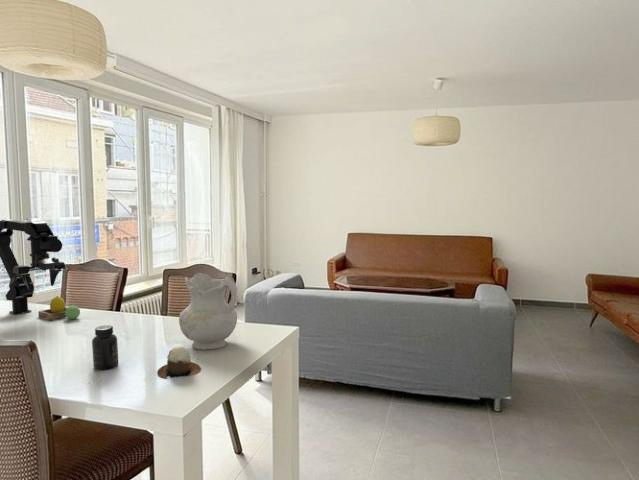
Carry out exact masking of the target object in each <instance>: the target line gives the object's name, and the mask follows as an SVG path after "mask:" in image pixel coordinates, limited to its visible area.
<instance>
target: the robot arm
mask: <svg viewBox="0 0 639 480" xmlns="http://www.w3.org/2000/svg"><path fill="white" fill-rule="evenodd" d="M14 231H19V232H24V233H25V234H26V235H28V236H29V237H27V239H26V241H29V242H30V253H29V256H30V257H31V262H30V266H29V265H24V264H23V265H20V264H19V263H18V261H17V258H16V257H15V254H14V253H13V250H12V247H11V242H12V236H13V234H14ZM58 238H59V237H58V235H54V233H53V231H52V230H51V228H50V226H49V225H48V223H47V222H46V221H29V222H28V221H21V220H16V219H15V220H14V219H11V218H10V219H1V220H0V260H1V263H2V265H3V267H4V268H5V271H6V273H7V275H8V278H9V279H10V280H9V284H8V288H9V290H8V291H7V292H6V293H5V298H6V299H5V300H6V301H11V306H12V307H11V308H12V310H11V311H8V313H10V314H12V315H21V314H26V313H32V310H30V309H29V302H28V301H29V300H28V298H33V296H34V295H33V294H34V291H35V286H34V285H35V284H34V282H33V281H32V278H31V273H30V272H32V271H49V280H50V282H49V283H50V285H51V287H53V286H54V285H55V282H56V279H57V277H58V275H59V273H61V272H63V270H66V263H64V261H60V260H59V257H58V256H57V257H55V256H54V257H51V258H50V254H49V253H58V252H59V253H60V251H62V249H63V243H62V241H61V240H60V239H58Z"/></svg>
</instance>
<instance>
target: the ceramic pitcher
mask: <svg viewBox="0 0 639 480" xmlns="http://www.w3.org/2000/svg"><path fill="white" fill-rule="evenodd" d="M223 279H224V281H223ZM223 279H220V278H219V279H217V278H215V279H212V278H211V277H210V275H209V274H206V273H202V272H197V273H196V274H193V276H192V277H191V278H190V279H189V277H188V276H185V277H184V281H185V285H186V287H187V290H188V292H189V294H190V303H189V305H188V306H187V307H186V308H184V309H183V310H182V311H181V312H180V313H179V318H178V322H179V323H178V324H179V328H180V331H181V333H182V334H183V335H184V337H186V339H187V340H189V341H192V345H191V346H192V348H194V349H196V350H198V351H203V350H204V351H206V350H219V349H221V348H223V347H226V346H227V343H228V342H227V341H226V339H228V338H229V337H230V336H231V335H232V333H234V330H235V329H236V326H237V323H238V313H237V311H236V310H235V306H236V303H237V301H238V296H237V295H238V291H237V290H238V289H237V285H236V282H235V278H234V276H232V275H225V276H223ZM227 288H228V289H229V290H230V295H231V296H230V300H229V302H228V303H227V302H226V300H225V299H226V297H225V296H226V292H227Z"/></svg>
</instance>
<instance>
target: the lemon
mask: <svg viewBox="0 0 639 480" xmlns="http://www.w3.org/2000/svg"><path fill="white" fill-rule="evenodd" d="M49 303H50V304H49V309H51V311H52V312H53V313H60V312H63V310H64V309H65V307H66V303H65V300H64V298H62V297H60V296H55V297H53V298H52V299H51V301H50V302H49Z"/></svg>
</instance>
